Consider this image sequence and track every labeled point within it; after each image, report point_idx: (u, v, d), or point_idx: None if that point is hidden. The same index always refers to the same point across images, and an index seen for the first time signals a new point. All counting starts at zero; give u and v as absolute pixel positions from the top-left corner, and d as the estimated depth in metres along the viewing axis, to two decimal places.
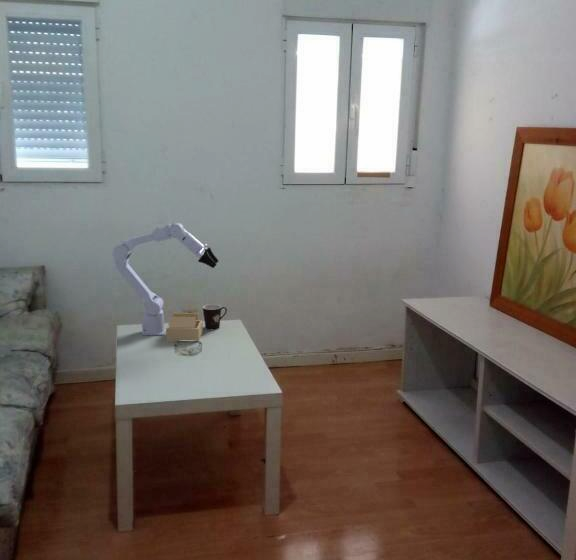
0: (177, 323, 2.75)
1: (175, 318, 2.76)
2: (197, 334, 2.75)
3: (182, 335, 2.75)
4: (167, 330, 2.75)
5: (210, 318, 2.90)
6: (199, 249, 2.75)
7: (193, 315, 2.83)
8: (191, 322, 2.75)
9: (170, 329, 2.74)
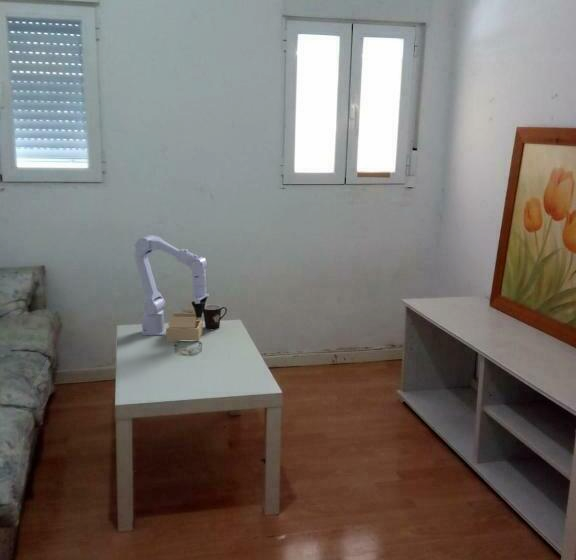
0: (177, 323, 2.75)
1: (175, 318, 2.76)
2: (197, 334, 2.75)
3: (182, 335, 2.75)
4: (167, 330, 2.75)
5: (210, 318, 2.90)
6: (200, 295, 2.74)
7: (193, 315, 2.83)
8: (191, 322, 2.75)
9: (170, 329, 2.74)
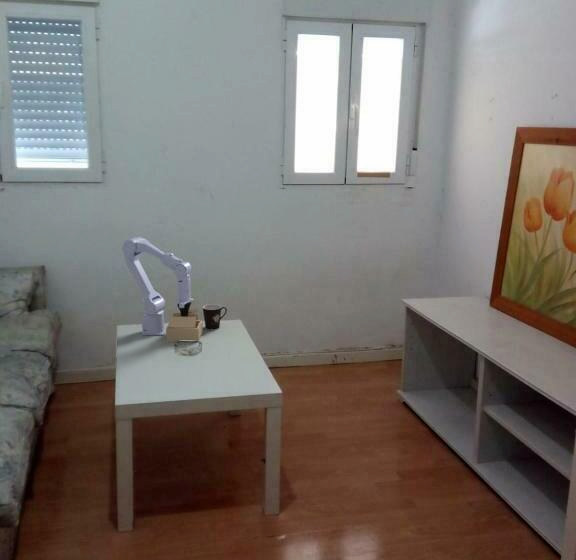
0: (177, 323, 2.75)
1: (175, 318, 2.76)
2: (197, 334, 2.75)
3: (182, 335, 2.75)
4: (167, 330, 2.75)
5: (210, 318, 2.90)
6: (185, 299, 2.76)
7: (193, 315, 2.83)
8: (191, 322, 2.75)
9: (170, 329, 2.74)
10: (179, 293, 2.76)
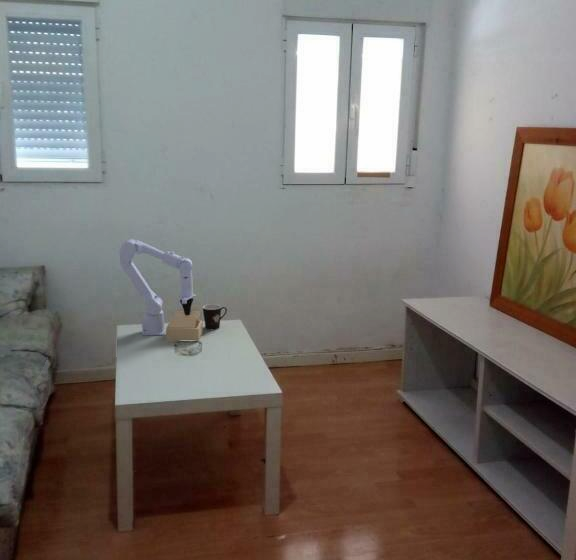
0: (177, 323, 2.75)
1: (175, 318, 2.76)
2: (197, 334, 2.75)
3: (182, 335, 2.75)
4: (167, 330, 2.75)
5: (210, 318, 2.90)
6: (187, 295, 2.82)
7: (195, 313, 2.87)
8: (191, 322, 2.75)
9: (170, 329, 2.74)
10: (182, 289, 2.81)
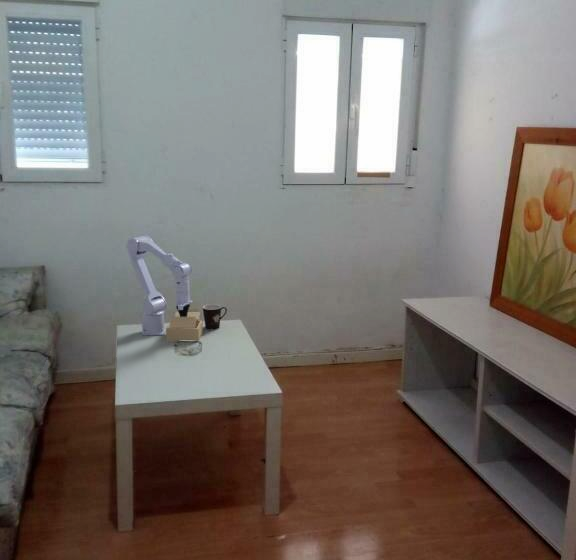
0: (177, 323, 2.75)
1: (175, 318, 2.76)
2: (197, 334, 2.75)
3: (182, 335, 2.75)
4: (167, 330, 2.75)
5: (210, 318, 2.90)
6: (184, 301, 2.73)
7: (195, 314, 2.88)
8: (191, 322, 2.75)
9: (170, 329, 2.74)
10: (178, 295, 2.73)
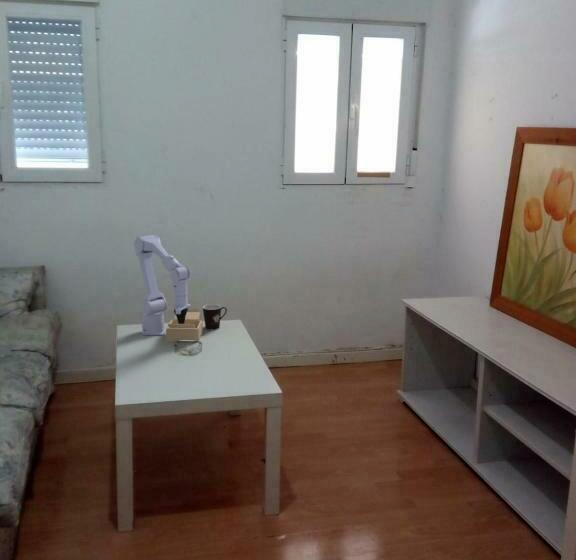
0: (176, 326, 2.73)
1: (173, 325, 2.71)
2: (197, 334, 2.75)
3: (182, 335, 2.75)
4: (167, 330, 2.75)
5: (210, 318, 2.90)
6: (181, 305, 2.67)
7: (195, 314, 2.88)
8: (190, 326, 2.72)
9: (170, 329, 2.74)
10: (175, 299, 2.67)
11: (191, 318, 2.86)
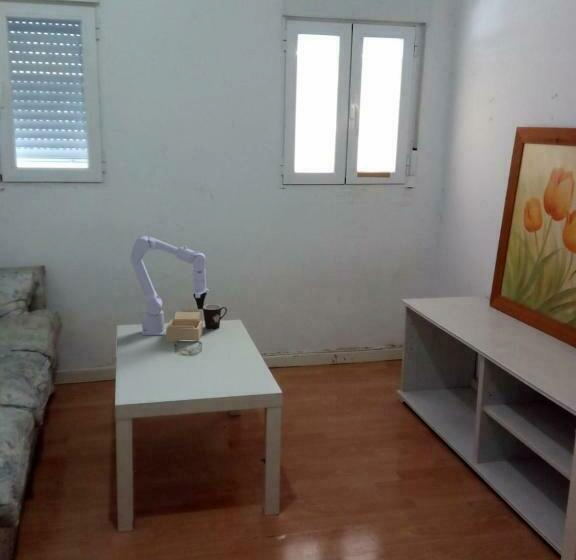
0: (176, 327, 2.73)
1: (173, 326, 2.71)
2: (197, 334, 2.75)
3: (182, 335, 2.75)
4: (167, 330, 2.75)
5: (210, 318, 2.90)
6: (201, 289, 2.82)
7: (195, 314, 2.88)
8: (190, 327, 2.72)
9: (170, 329, 2.74)
10: (195, 283, 2.82)
11: (191, 318, 2.86)
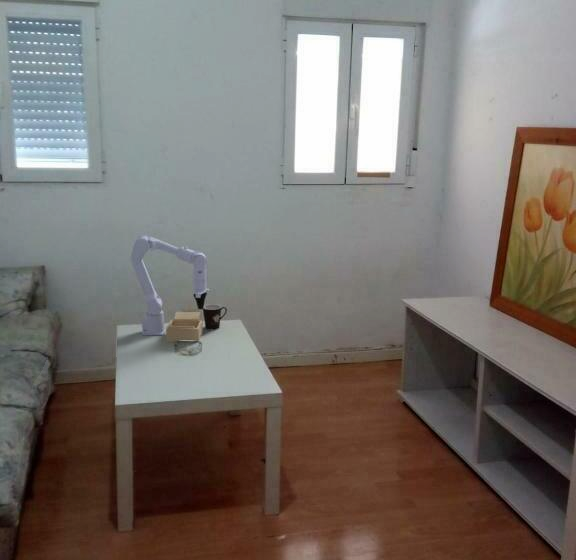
0: (176, 327, 2.73)
1: (173, 327, 2.71)
2: (197, 334, 2.75)
3: (182, 335, 2.75)
4: (167, 330, 2.75)
5: (210, 318, 2.90)
6: (201, 289, 2.83)
7: (195, 314, 2.88)
8: (190, 327, 2.72)
9: (170, 329, 2.74)
10: (195, 283, 2.82)
11: (191, 318, 2.86)
